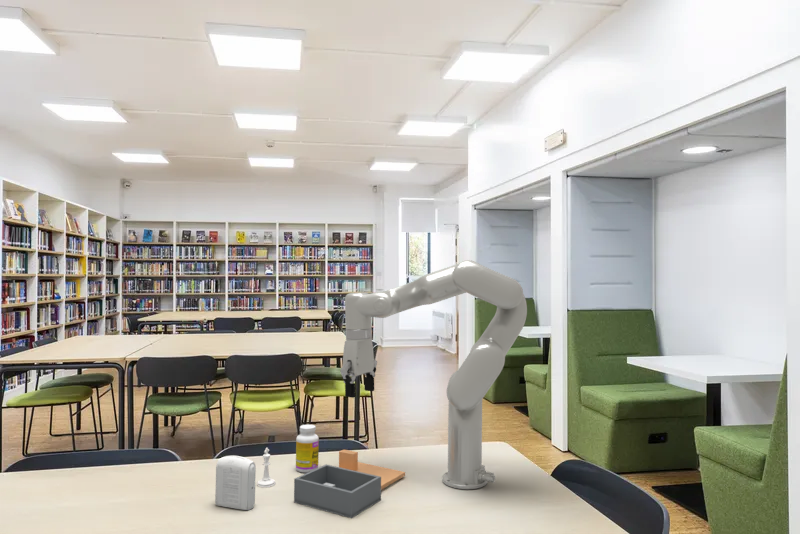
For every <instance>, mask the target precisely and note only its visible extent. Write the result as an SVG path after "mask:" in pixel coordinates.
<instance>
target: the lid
mask: <svg viewBox="0 0 800 534" xmlns="http://www.w3.org/2000/svg"><path fill="white" fill-rule="evenodd" d="M358 455H359V453H358V451H354V450H348V449H342V450H339V451H338V467H340V468H345V469H349V470H354V471H358V472H362V473H367V474H371V475H376V476H380V477H381V490H383V489H385V488H386V487H388V486H391V485H392V484H394V483H395V482H397V481H399V480H400V479H402V478H404V477H406V471H403V470H402V471H401V470H397V469H392V468H387V467H384V466H379V465H373V464H369V463H364V462H360V461H359V456H358Z"/></svg>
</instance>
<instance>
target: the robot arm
mask: <svg viewBox="0 0 800 534" xmlns="http://www.w3.org/2000/svg"><path fill="white" fill-rule="evenodd" d="M466 293H467V294H469V295H471V296H473V297H474V298H478V299H480V300H482V301H484V302H486V303H489V304H491V305H494V306H496V309H495V310H496V311H495V314H494V316H493V317H492V318H491V320H490V322H489V324H488V325H487V327H486V328H485V330H484V331H483V333H482V334H481V336H480V337H479V338H478V340H476V342H475V343H474V344H473V345H472V347H471V349H470V352H469V353H468V354H467V356H466V357H465V359H464V360H463V362H462V364H461V365H460V367H459V368H458V369H457V370H456V371H454V372H453V373H452V375H451V376H450V378H449V380H448V383H447V387H446V398H447V400H448V409H447V410H448V414H447V415H448V418H447V419H448V420H447V424H448V426H447V472H445V473H443V475H442V477H441V479H442V483H443V484H444V485H446V486H448V487H450V488H453V489H454V488H455V489H460V490H476V489H481V488H483V487H485V486H486V485H487V484H488V483H495V481H496V475H495V473H494V472H492V471H491V472H490V471H487V470H486V465H483V464H482V463H483V459H482V457H483V448H482V447H483V399H484V397H485V396H486V394H487V393H488V391H489V390H490V389H491V387H492V386H493V384H494V383H495V382H496V380H497V379H498V377H499V376H500V374H501V372H502V371H503V369H504V366H505V362H506V355H507V354H508V352H509V351H510V349H511V347H512V346H513V345H514V343H515V342H516V340H517V338H518V336H519V335H520V334H521V332H522V330H523V328H524V326H525V323H526V319H527V315H528V306H527V299H526V297H525V294H524V291H523V287H522V285H521V284H520V283H519V282H518V280H516V279H515V278H513V277H510V276H508V275H505V274H503V273H500V272H498V271H496V270H493V269H491V268H489V267H487V266H484V265H482V264H480V263H478V262H477V261H473V260H470V259H469V260H468V259H467V260H462V261H461V262H458V263H456V264H454V265H451V266H447V267H444V268H442V269H439V270H436V271H432V272H430V273H427V274H424V275H422V276H420V277H419V278H417V279H416V280H414V281H410V282H408V283H406V284H405V283H404V284H402V285H399V286H397V287H394V288H391V289H388V290H384V291H378V292H372V293H367V292H350V293H347V294H346V295H345V299H344V301H345V302H344V304H345V310H344V311H345V312H344V313H345V340H344V345H343V354H342V355H343V356H342V367H341V368H340V369H339V370H340V374H341V379H342V380H343V383H344V394H345V395H344V396H345V397H346V398H353V399H354V398H356V393H357V392H356V383H355V380H356V377H359V376H361V375H365V376H364V378H363V379H364V384H363V385H364V391H367V392H375V378H376V372H377V367H378V360H376V359H375V358H374V357H375V355H374V346H373V338H372V337H373V333H372V332H373V331H372V330H373V329H372V318H375V319H376V318H377V319H386V318H388V317H390V316H393V315H397V314H398V313H402V312H405V311H408V310H411V309H413V308H414V309H415V308H417V307H421V306H427V305H432V304H436V303H439V302H441V301H445V300H448V299H450V298H454V297H457V296H459V295H463V294H466Z"/></svg>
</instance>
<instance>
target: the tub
mask: <svg viewBox="0 0 800 534" xmlns="http://www.w3.org/2000/svg"><path fill="white" fill-rule="evenodd" d="M293 480H294V481H293V486H294V488H293V490H294V491H293V502H294V503H295V504H299V505H303V506H306V507H310V508H313V509H316V510H320V511H324V512H327V513H331V514H334V515H337V516H338V515H339V516H342V517H345V518H349V519H353V518H354V517H355V516H357V515H359V514H361V513H362V512H364V511H365V510H367V509H369V508H370V507H372V506H374V505H375V504H377V503H378V502H380V501H381V500H382V489H381V477H380V476H376V475H371V474H367V473H362V472H358V471H354V470H349V469H345V468H340V467H339V466H335V465H330V464H327V463H326V464H324V465H322V466H318V468H317V469H315V470H312V471H310V472H308V473H303V474H302V475H299V476H297V477H295V478H293Z"/></svg>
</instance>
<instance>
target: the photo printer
mask: <svg viewBox="0 0 800 534" xmlns="http://www.w3.org/2000/svg"><path fill="white" fill-rule="evenodd" d="M256 469H257V468H256V462H254V461H253V460H252V459H249V458H248V457H247V458H246V457H244V456H239V455H225V456H223V457H221V458H218V460H217V461H216V466H215V494H214V496H215V497H214V504H215V505H216V506H219V507H224V508H230V509H236V510H242V511H249V510H252V509H253V508H254V507H255V503H256V472H257V471H256Z"/></svg>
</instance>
